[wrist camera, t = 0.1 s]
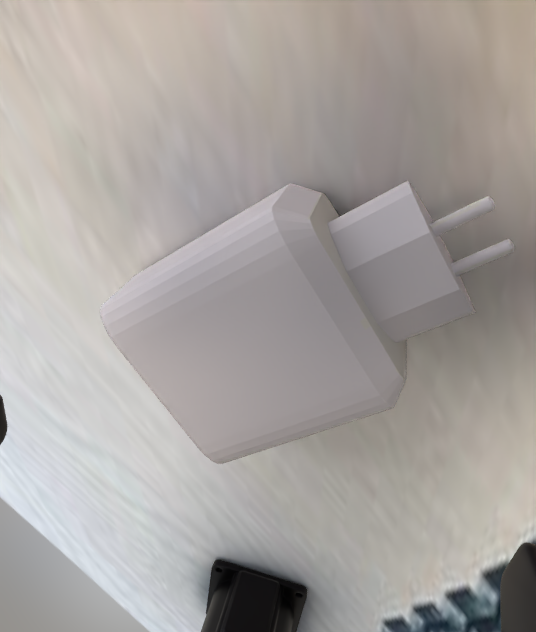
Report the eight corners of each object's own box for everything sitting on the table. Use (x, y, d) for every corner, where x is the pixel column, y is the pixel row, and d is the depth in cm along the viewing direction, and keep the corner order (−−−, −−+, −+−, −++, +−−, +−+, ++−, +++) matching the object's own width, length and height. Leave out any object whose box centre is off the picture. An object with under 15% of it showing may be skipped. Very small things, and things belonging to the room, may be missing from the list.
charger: (538, 299, 21) (246, 409, 27) (441, 89, 18) (142, 268, 25) (569, 364, 17) (218, 474, 23) (451, 108, 14) (89, 315, 21)
